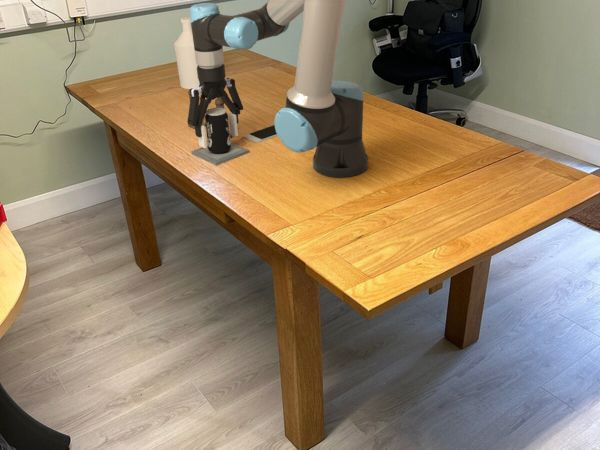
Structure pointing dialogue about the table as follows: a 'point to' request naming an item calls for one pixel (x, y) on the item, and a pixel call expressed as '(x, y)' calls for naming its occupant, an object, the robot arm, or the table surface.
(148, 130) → the table surface
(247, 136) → the smartphone
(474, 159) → the table surface
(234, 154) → the slate coaster
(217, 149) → the beverage can
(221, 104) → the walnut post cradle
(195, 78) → the bottle
